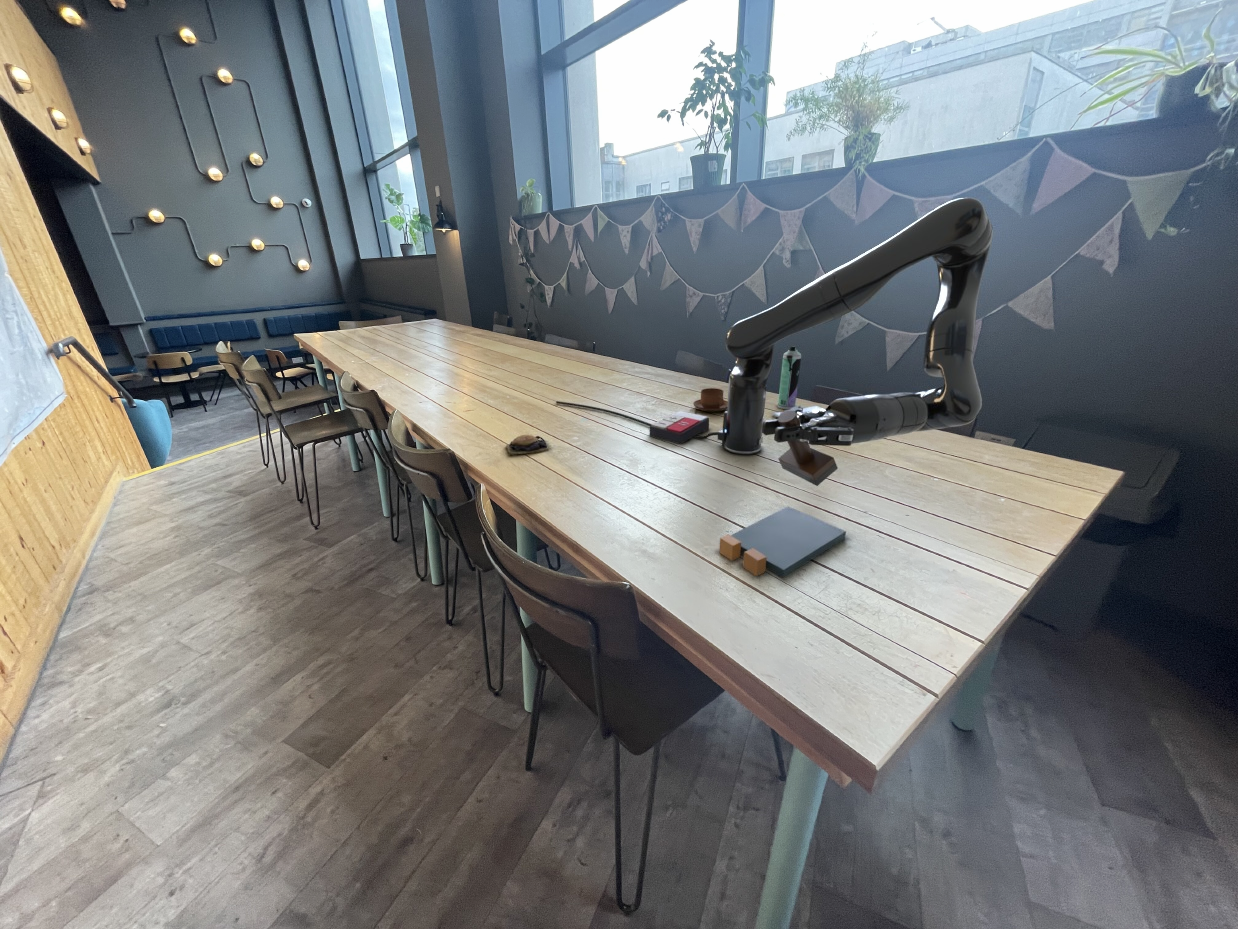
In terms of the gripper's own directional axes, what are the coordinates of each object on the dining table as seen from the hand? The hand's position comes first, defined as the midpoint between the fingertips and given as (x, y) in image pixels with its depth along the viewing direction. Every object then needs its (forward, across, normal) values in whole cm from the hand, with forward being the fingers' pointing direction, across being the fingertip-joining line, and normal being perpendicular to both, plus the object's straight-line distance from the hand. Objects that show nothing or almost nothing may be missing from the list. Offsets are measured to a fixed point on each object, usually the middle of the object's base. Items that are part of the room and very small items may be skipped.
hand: (770, 431), depth 72 cm
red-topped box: (-11, -60, +22) cm, 65 cm away
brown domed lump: (+33, -63, +22) cm, 75 cm away
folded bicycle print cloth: (-54, -55, +22) cm, 80 cm away
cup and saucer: (-30, -78, +22) cm, 86 cm away
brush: (-8, 0, +8) cm, 11 cm away
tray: (-6, -1, +22) cm, 23 cm away
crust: (+3, +4, +20) cm, 21 cm away
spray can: (-54, -71, +22) cm, 92 cm away
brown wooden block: (+4, -1, +20) cm, 21 cm away
